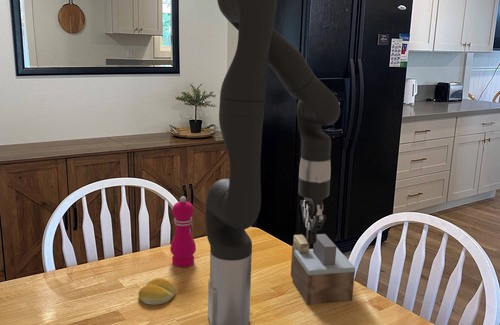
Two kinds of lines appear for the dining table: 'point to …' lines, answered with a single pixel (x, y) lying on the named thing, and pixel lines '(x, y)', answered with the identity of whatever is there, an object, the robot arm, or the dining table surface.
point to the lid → (324, 258)
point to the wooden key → (301, 243)
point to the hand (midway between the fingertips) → (311, 242)
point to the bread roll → (157, 292)
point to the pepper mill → (183, 234)
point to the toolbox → (321, 284)
